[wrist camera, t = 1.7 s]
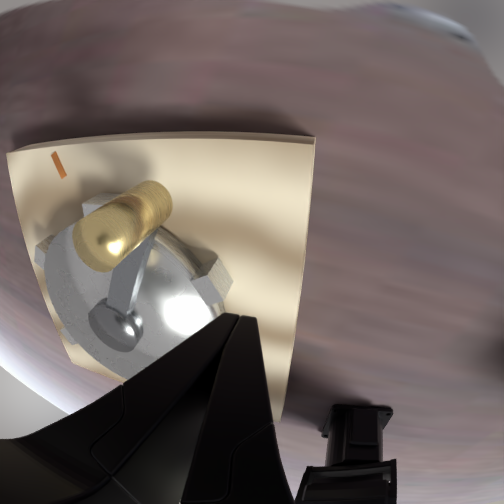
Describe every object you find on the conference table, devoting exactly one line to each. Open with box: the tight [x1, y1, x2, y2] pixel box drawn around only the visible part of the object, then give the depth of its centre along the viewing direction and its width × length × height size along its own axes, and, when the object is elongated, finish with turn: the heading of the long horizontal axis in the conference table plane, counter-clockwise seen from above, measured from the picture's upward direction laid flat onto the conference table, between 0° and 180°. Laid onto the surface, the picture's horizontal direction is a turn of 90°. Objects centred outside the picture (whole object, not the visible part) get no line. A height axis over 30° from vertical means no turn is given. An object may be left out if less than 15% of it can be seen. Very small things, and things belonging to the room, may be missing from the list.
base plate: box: [6, 131, 316, 422], centre depth 24 cm, size 24×24×3 cm
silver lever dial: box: [34, 180, 234, 380], centre depth 19 cm, size 19×16×7 cm
